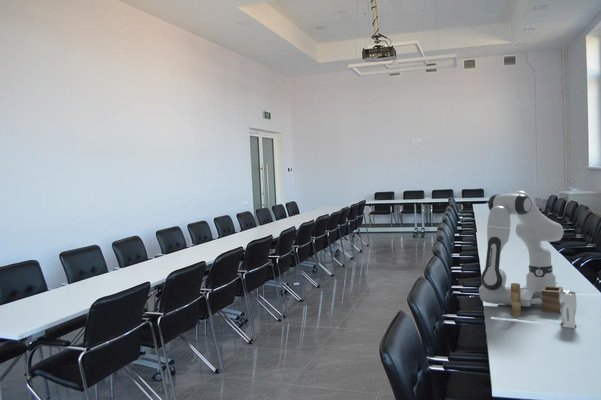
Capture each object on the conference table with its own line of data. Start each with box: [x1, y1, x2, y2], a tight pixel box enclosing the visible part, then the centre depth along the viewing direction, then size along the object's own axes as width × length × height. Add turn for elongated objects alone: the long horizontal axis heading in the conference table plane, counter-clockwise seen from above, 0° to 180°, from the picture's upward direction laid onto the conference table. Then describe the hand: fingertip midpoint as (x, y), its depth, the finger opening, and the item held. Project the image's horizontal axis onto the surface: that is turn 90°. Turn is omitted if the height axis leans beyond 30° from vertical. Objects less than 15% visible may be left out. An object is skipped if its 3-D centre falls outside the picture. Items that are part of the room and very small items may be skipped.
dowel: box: [510, 282, 522, 320], centre depth 232 cm, size 4×4×16 cm
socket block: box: [541, 286, 564, 314], centre depth 237 cm, size 10×8×10 cm
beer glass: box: [559, 290, 578, 329], centre depth 216 cm, size 7×7×15 cm
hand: (543, 298), depth 239 cm, fingers open, 8 cm apart
